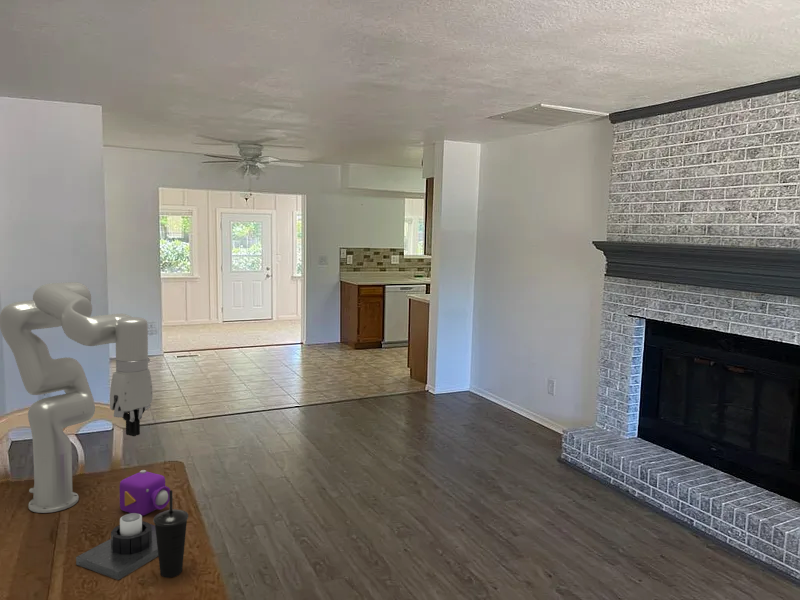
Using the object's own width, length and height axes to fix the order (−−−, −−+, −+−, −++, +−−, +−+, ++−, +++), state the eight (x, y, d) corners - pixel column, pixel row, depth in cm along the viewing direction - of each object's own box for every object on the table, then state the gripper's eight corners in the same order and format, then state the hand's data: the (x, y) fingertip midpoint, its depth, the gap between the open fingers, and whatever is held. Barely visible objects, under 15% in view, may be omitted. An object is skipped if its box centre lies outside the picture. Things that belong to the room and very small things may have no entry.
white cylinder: (115, 548, 147) (115, 519, 147) (129, 538, 152) (129, 510, 151) (132, 551, 146) (132, 522, 145) (146, 541, 151) (146, 514, 150)
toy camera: (157, 521, 166) (157, 486, 165) (114, 514, 169) (113, 480, 168) (179, 504, 177) (179, 471, 176) (138, 498, 179) (137, 466, 178)
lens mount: (76, 564, 143) (75, 540, 142) (143, 528, 161) (142, 507, 161) (118, 580, 137) (118, 555, 137) (182, 541, 156) (182, 519, 155)
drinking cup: (177, 559, 147) (177, 481, 145) (194, 571, 142) (194, 490, 140) (147, 572, 141) (146, 491, 139) (164, 585, 136) (164, 501, 134)
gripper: (144, 359, 162) (145, 424, 164) (96, 369, 149) (97, 440, 150) (165, 362, 159) (165, 429, 161) (118, 372, 146) (119, 446, 147)
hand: (132, 434), depth 156 cm, fingers closed
